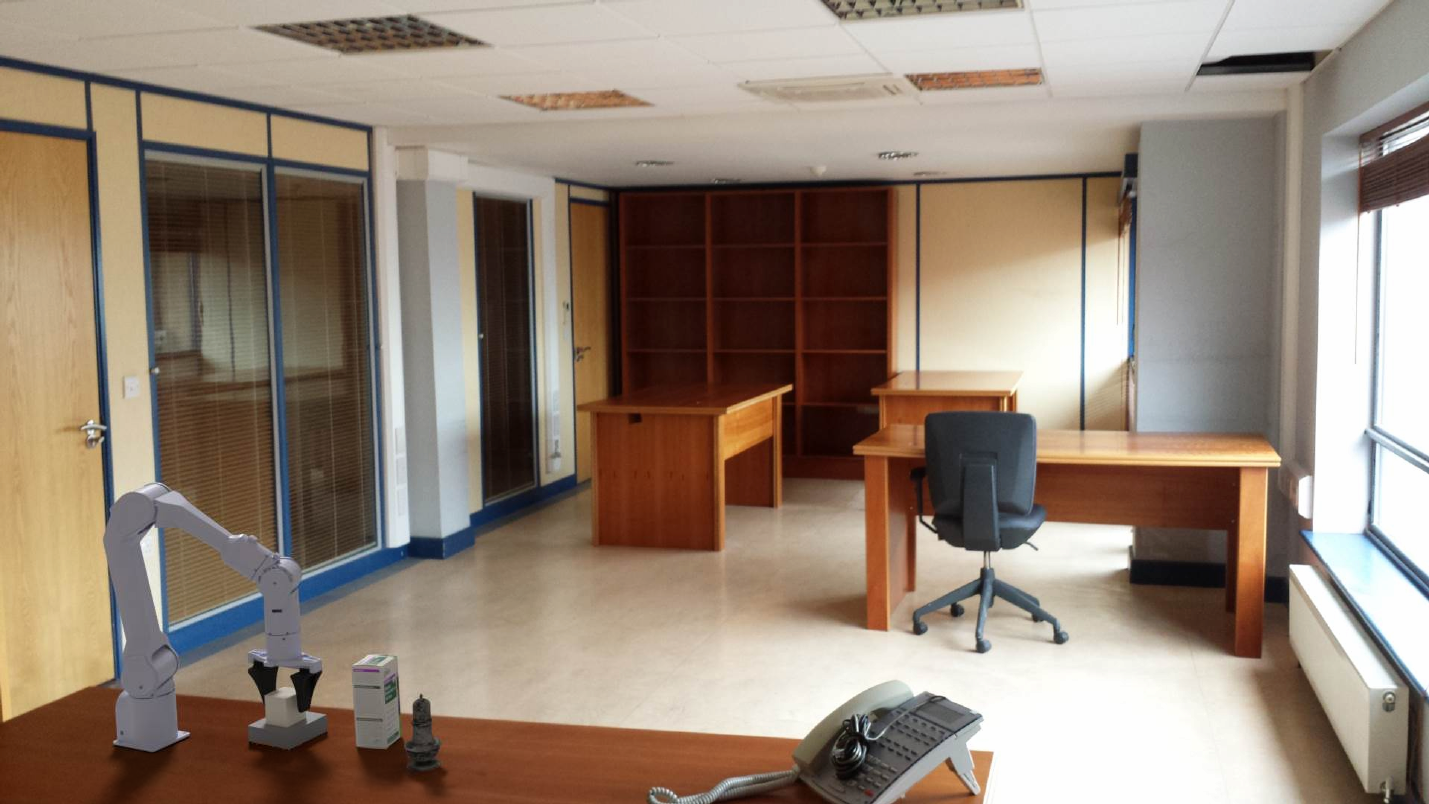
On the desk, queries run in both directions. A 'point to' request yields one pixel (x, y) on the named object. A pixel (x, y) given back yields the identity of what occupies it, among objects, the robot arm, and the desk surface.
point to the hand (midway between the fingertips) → (286, 707)
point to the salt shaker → (422, 739)
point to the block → (288, 731)
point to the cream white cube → (282, 707)
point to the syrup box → (376, 701)
